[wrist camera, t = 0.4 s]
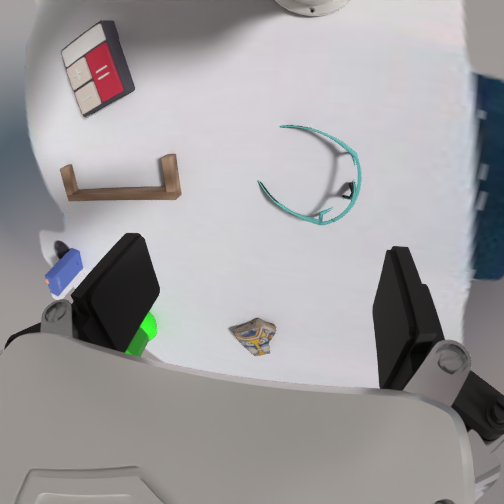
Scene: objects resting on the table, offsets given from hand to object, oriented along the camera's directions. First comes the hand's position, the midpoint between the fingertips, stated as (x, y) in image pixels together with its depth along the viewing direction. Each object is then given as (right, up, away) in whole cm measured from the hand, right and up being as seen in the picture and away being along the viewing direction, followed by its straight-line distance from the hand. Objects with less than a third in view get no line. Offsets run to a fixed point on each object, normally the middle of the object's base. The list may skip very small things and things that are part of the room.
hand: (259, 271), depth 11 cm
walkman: (-46, -2, +57) cm, 73 cm away
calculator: (-27, +33, +28) cm, 51 cm away
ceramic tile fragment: (+1, -18, +57) cm, 60 cm away
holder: (-26, +16, +40) cm, 50 cm away
